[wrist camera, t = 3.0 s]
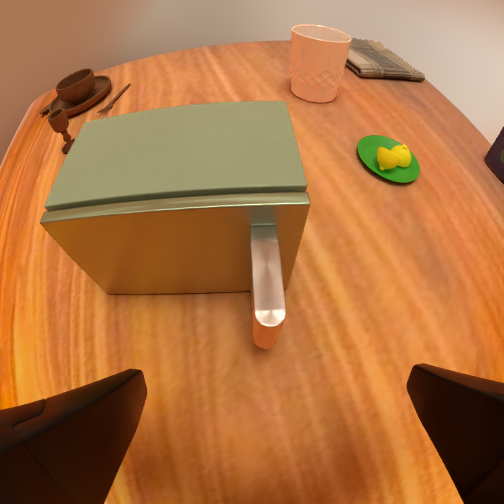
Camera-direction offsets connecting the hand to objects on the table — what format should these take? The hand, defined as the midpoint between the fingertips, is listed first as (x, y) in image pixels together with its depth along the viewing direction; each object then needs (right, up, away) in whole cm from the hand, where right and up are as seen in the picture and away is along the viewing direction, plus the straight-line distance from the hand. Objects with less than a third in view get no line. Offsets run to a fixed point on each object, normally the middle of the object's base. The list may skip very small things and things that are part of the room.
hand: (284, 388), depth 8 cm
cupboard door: (-5, -1, +13) cm, 14 cm away
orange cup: (+8, +27, +29) cm, 41 cm away
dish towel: (+23, +43, +39) cm, 62 cm away
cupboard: (-6, +5, +16) cm, 18 cm away
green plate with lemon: (+15, +15, +22) cm, 30 cm away
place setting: (-31, +27, +29) cm, 50 cm away
